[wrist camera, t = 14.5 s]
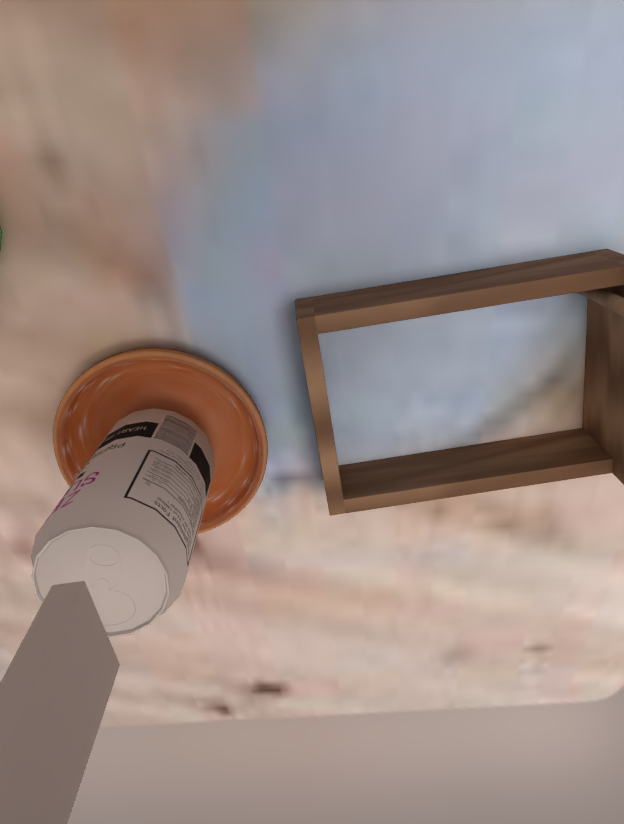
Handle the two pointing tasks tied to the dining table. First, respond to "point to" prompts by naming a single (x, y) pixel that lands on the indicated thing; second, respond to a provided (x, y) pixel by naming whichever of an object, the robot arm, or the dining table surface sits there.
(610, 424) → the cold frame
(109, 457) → the supplement can
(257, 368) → the dining table surface
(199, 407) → the saucer
